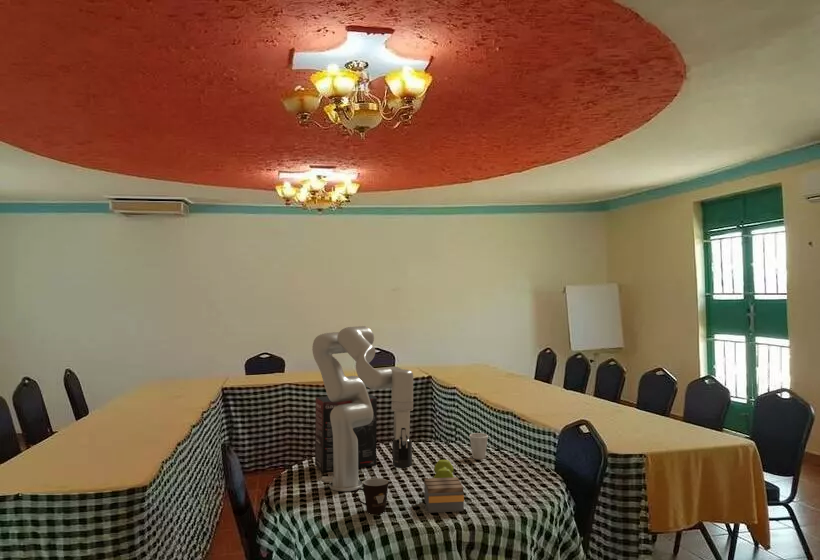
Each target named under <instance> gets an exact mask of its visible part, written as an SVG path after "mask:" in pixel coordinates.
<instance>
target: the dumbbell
mask: <svg viewBox="0 0 820 560" xmlns="http://www.w3.org/2000/svg"><path fill="white" fill-rule="evenodd" d="M433 471H434V473H435V474H434V476H433V478H452V477H455V476H454V475H453V473H454V466H453V465H452V463H451V462H450V460H449V459H439V460H437V462H436V463H435V466H434V468H433Z"/></svg>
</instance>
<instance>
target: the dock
mask: <svg viewBox="0 0 820 560" xmlns="http://www.w3.org/2000/svg"><path fill="white" fill-rule="evenodd" d="M423 488H424V492H423V494H424V503H426V504H425V507H426V509H427V513H429V512H430V513H431V514H432V513H449V512H451V513H453V512H464V507H465V506H464V502H465V496H464V491H463V492H447V493H428V491H427V488H426V486H425V483H424V487H423Z"/></svg>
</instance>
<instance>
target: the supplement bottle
mask: <svg viewBox="0 0 820 560" xmlns="http://www.w3.org/2000/svg"><path fill="white" fill-rule="evenodd" d="M401 433H402V431H401ZM407 437H408V436H407ZM400 439H402V438H400ZM401 442H402V441H401ZM412 443H413V442H412V440H411V439H410V438H409V439H408V440H407V448H408V460H399V459H398V448H399V439H397V440H395V438H394V439H393V440H392V445H391V446H392V447H391V449H392V466H393V467H394V468H396V469H407V468H410V467H411V466H413V444H412Z"/></svg>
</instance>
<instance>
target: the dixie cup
mask: <svg viewBox="0 0 820 560" xmlns="http://www.w3.org/2000/svg"><path fill="white" fill-rule="evenodd" d="M488 438H489V434H487V433H484V432H474V433H470V434H469V441H470V447H471V448H470V449H471V455H472V458H473V459H474V460H484V459H486V457H487V455H486V454H487V445H488Z"/></svg>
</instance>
